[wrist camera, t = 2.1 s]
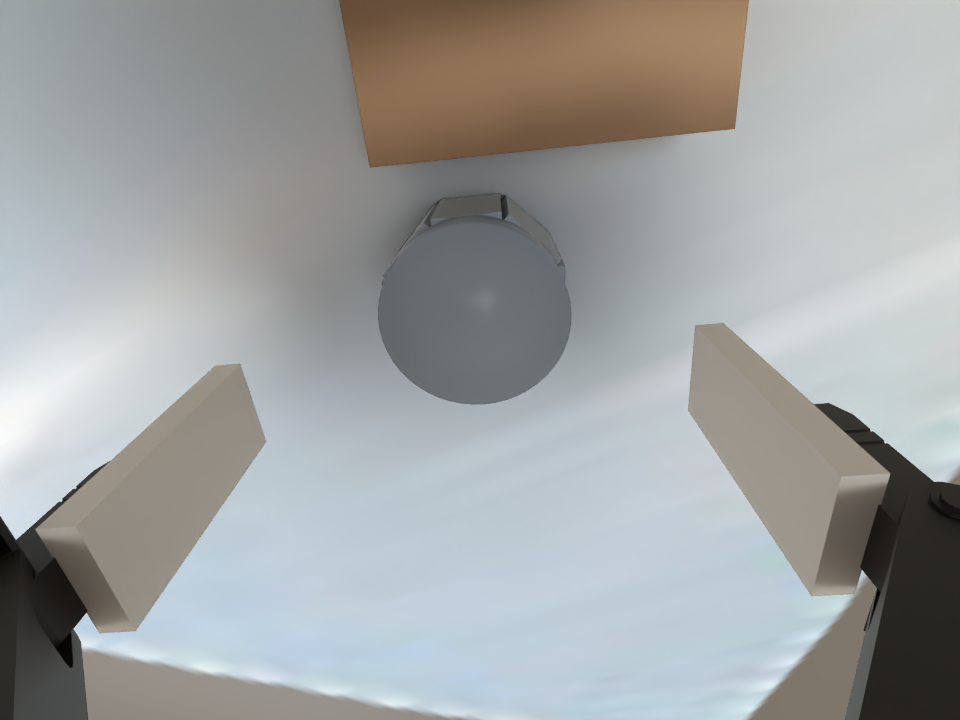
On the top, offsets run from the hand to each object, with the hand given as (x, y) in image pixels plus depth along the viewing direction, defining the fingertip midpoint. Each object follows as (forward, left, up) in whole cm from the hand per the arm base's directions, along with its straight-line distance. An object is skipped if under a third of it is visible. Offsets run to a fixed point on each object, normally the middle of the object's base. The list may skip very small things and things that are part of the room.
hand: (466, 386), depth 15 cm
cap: (0, 0, -10) cm, 10 cm away
